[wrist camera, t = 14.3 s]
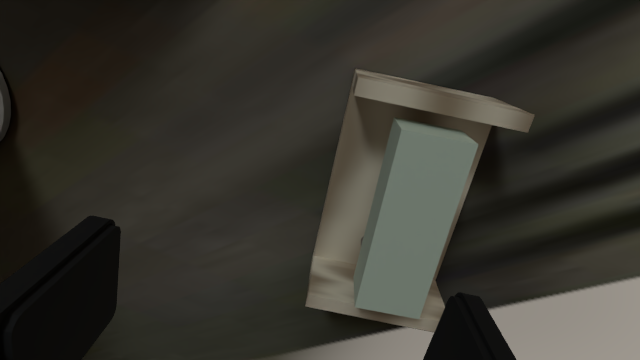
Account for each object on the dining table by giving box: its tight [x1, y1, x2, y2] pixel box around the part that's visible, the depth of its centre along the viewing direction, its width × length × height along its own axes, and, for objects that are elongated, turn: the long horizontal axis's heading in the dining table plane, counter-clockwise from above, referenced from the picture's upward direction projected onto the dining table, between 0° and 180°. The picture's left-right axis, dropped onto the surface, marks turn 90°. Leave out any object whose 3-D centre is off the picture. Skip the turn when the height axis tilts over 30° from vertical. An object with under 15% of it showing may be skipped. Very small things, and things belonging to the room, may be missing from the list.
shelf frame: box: [306, 68, 535, 332], centre depth 33 cm, size 12×19×8 cm, turn 169°
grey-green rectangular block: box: [354, 117, 479, 319], centre depth 29 cm, size 14×5×4 cm, turn 170°
